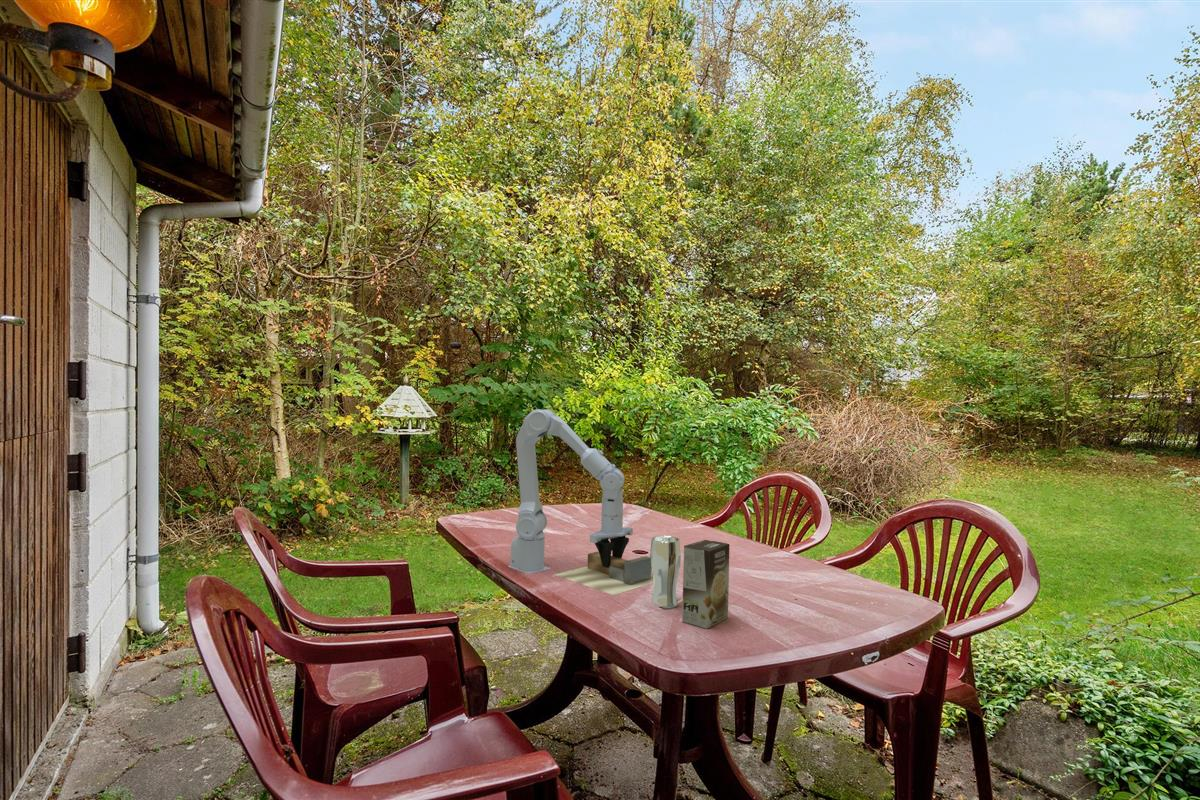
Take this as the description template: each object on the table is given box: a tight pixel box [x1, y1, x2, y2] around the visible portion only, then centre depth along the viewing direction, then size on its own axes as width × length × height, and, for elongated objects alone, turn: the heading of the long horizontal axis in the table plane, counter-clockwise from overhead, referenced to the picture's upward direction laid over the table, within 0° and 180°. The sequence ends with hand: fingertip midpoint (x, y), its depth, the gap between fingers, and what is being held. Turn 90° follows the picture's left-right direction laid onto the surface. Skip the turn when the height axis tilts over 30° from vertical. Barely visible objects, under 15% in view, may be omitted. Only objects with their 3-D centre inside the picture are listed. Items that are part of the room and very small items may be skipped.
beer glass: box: [649, 535, 682, 610], centre depth 134 cm, size 7×7×15 cm
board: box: [553, 565, 653, 596], centre depth 152 cm, size 22×18×1 cm
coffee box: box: [681, 539, 731, 629], centre depth 124 cm, size 9×6×16 cm
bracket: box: [609, 555, 652, 585], centre depth 151 cm, size 8×8×6 cm
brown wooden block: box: [587, 551, 630, 575], centre depth 156 cm, size 14×4×4 cm, turn 45°
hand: (611, 565), depth 156 cm, fingers closed on brown wooden block, 3 cm apart
